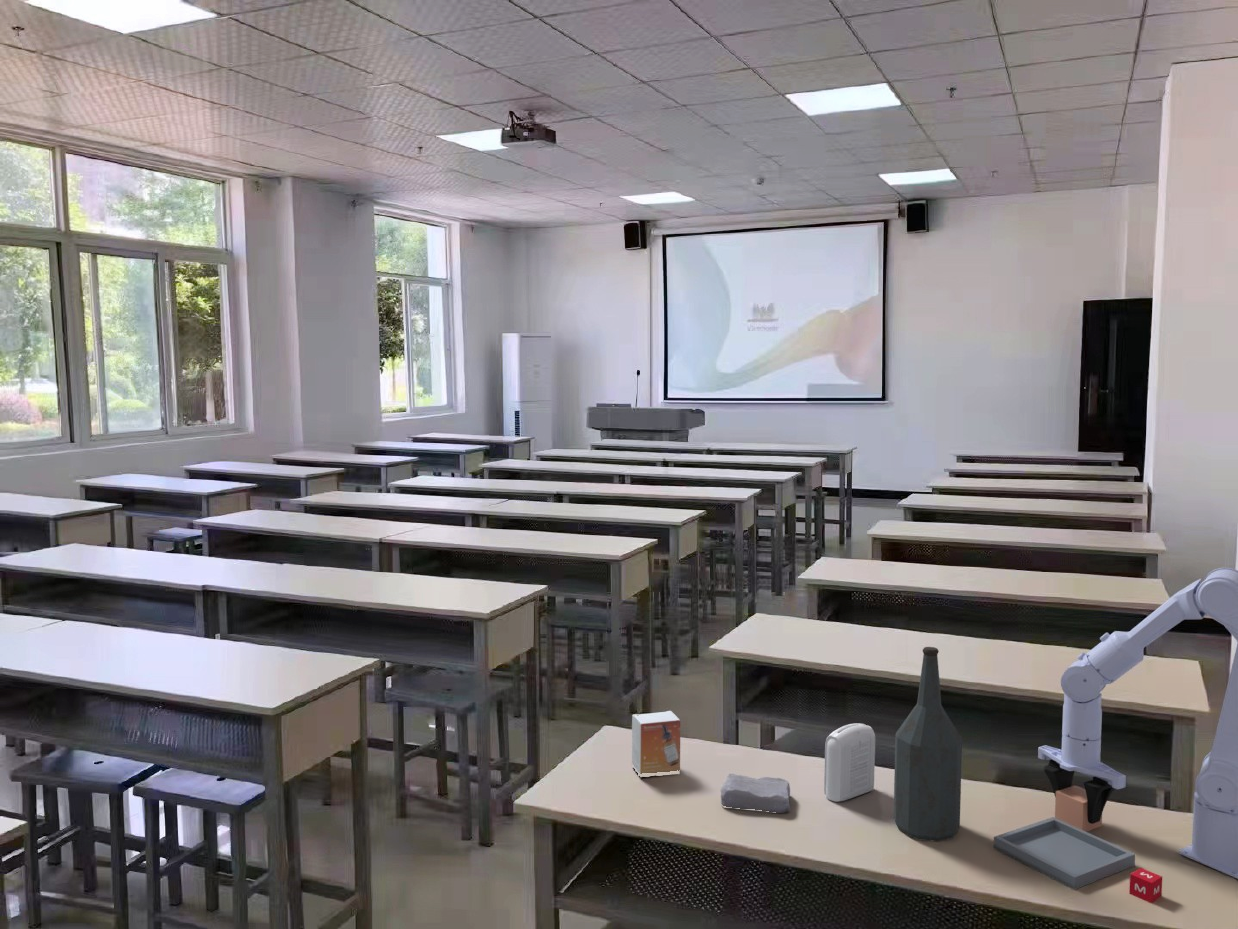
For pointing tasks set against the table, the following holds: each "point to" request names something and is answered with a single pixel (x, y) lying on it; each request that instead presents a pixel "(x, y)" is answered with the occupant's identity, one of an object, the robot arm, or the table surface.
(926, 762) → the bottle
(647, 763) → the small box
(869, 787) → the photo printer
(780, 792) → the stone block
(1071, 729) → the robot arm
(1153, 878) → the red letter cube
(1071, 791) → the wooden cube
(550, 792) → the table surface
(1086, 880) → the tray
